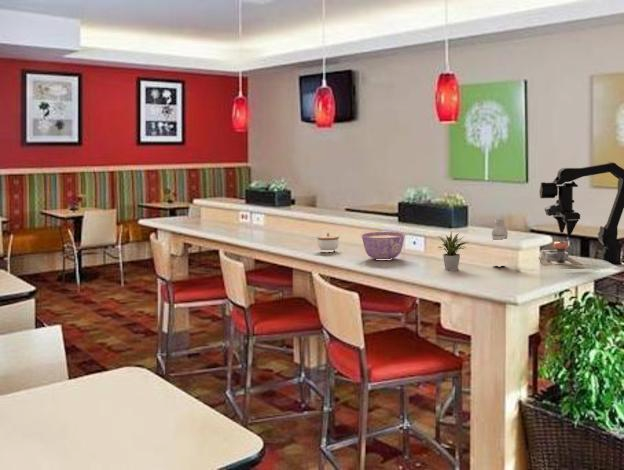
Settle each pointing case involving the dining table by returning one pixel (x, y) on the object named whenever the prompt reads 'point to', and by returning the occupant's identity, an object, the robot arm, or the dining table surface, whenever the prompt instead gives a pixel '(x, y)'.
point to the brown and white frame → (551, 258)
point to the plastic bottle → (499, 231)
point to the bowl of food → (383, 244)
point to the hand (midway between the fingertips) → (565, 234)
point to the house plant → (451, 252)
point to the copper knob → (560, 250)
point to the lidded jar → (328, 242)
